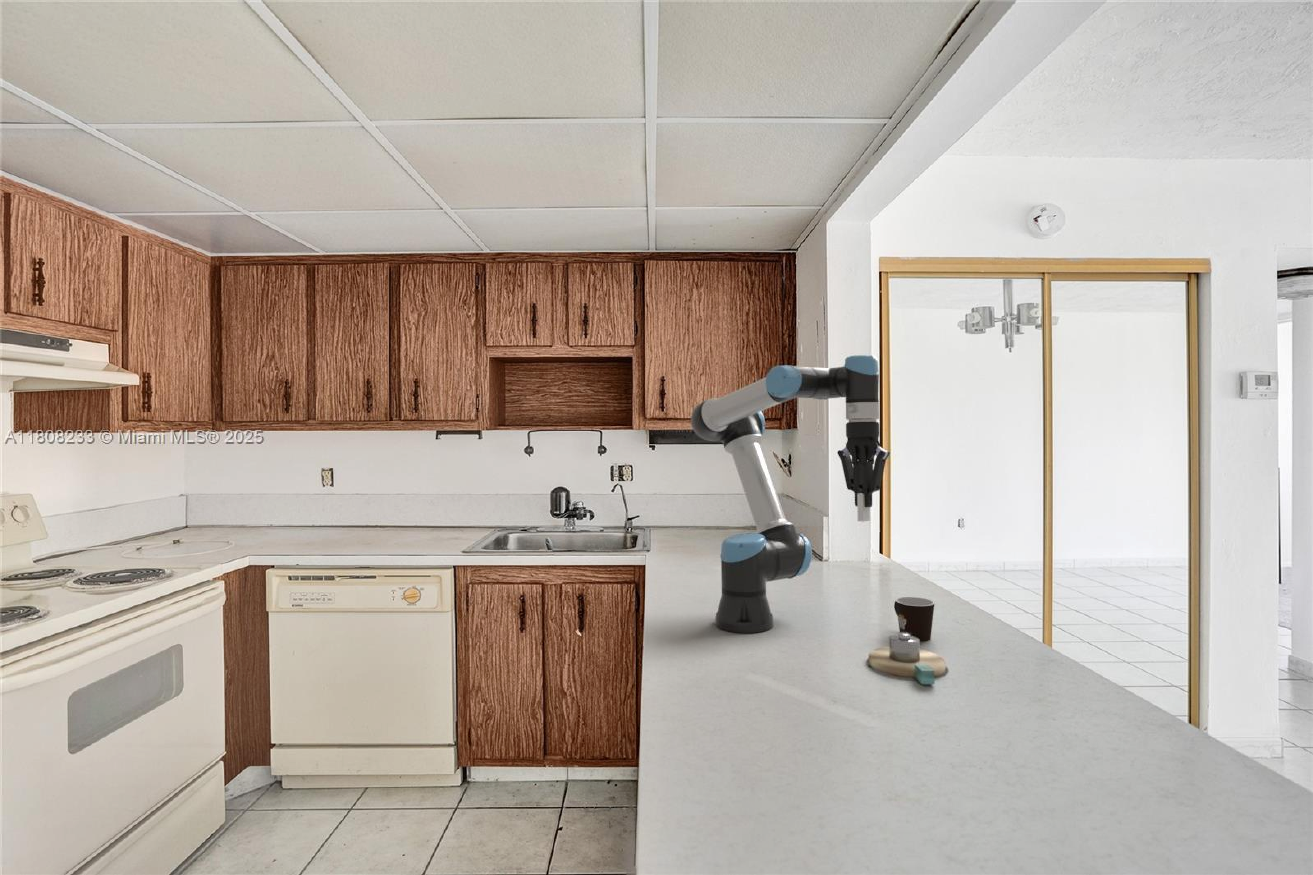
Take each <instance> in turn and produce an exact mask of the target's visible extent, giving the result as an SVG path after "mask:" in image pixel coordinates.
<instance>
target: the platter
mask: <svg viewBox="0 0 1313 875" xmlns="http://www.w3.org/2000/svg"><path fill="white" fill-rule="evenodd" d="M868 658H869V664H870V666H871V667H872V668H874V669H875V670H877V671H879V672H882V673H885V674H888V675H892V676H896V677H902V678H911V679H917V680H916V681H918V682H919V683H920V684H921V685H935V679H934V678H935V677H938V676H941V675H943V674H944V673H945V671H946V666H947V665H946V664H947V663H946V660H945V659H944V658H943V657H942V656H941V655H939V654H937V653H935V652H931V651H928V650H924V649H921V648H920V661H919V662H916V663H902V662H897V661H894V660H892V659H890V657H889V646H883V647H878V648H874V649H872V650H870V651H869V653H868Z"/></svg>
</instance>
